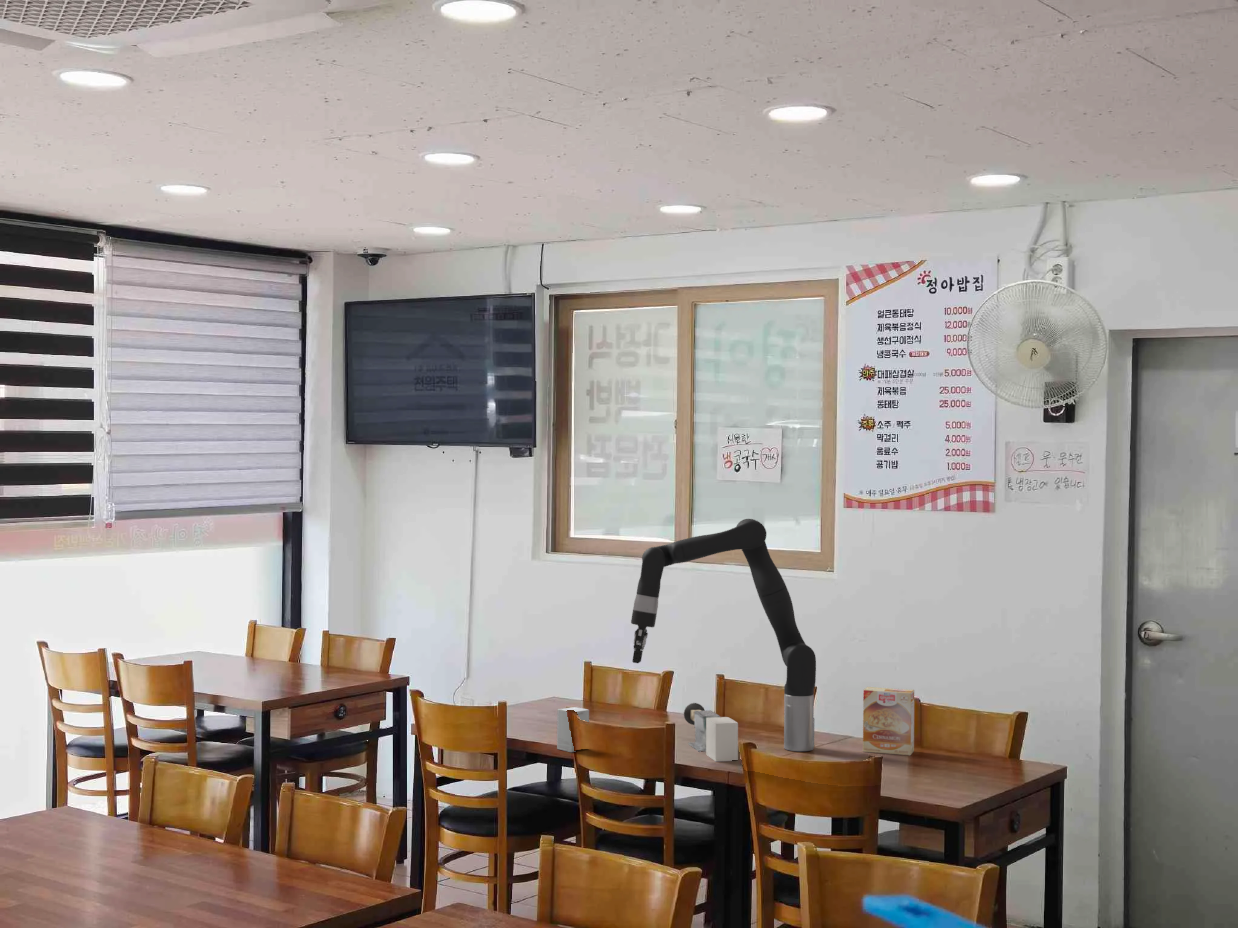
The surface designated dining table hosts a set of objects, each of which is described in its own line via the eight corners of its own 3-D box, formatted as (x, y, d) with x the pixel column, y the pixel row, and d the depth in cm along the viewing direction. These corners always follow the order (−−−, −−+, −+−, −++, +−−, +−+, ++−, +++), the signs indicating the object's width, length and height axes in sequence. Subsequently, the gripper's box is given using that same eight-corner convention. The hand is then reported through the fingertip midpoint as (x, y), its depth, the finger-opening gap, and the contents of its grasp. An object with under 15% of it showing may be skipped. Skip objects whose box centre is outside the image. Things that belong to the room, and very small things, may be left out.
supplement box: (571, 752, 425) (571, 711, 425) (556, 748, 431) (556, 708, 431) (589, 749, 430) (589, 709, 430) (574, 745, 435) (574, 706, 435)
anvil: (688, 743, 439) (688, 710, 439) (715, 742, 441) (715, 709, 441) (698, 751, 428) (698, 717, 428) (726, 750, 430) (726, 716, 430)
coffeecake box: (862, 751, 429) (862, 689, 429) (866, 747, 435) (866, 686, 435) (910, 755, 423) (911, 692, 423) (914, 751, 430) (914, 688, 430)
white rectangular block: (706, 754, 423) (706, 717, 423) (727, 753, 425) (728, 716, 425) (715, 761, 413) (715, 723, 413) (737, 760, 415) (737, 722, 415)
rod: (683, 724, 448) (683, 703, 448) (704, 723, 450) (704, 702, 450) (703, 738, 426) (703, 715, 426) (725, 737, 427) (725, 714, 427)
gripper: (655, 612, 421) (647, 665, 420) (657, 612, 435) (649, 663, 434) (631, 608, 422) (623, 661, 420) (634, 608, 436) (626, 659, 434)
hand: (636, 662), depth 427 cm, fingers open, 8 cm apart
